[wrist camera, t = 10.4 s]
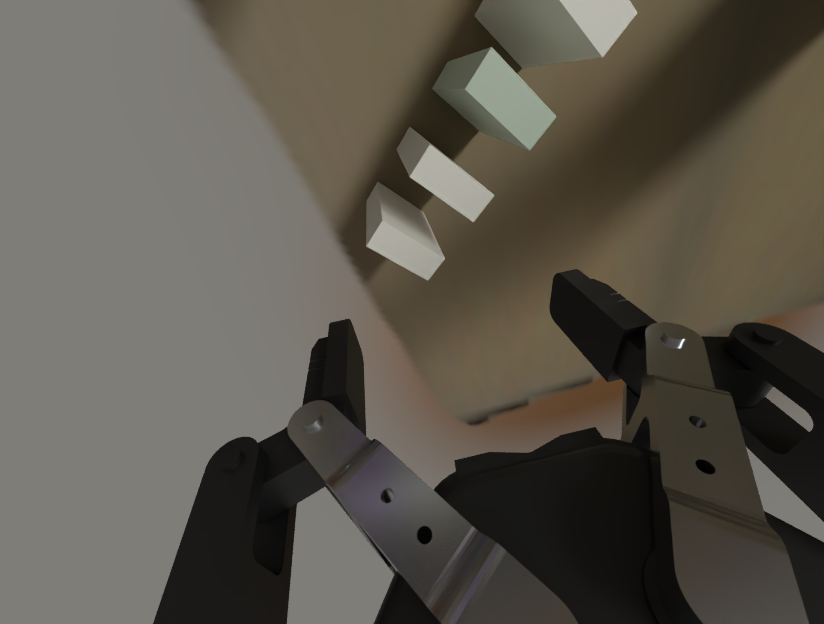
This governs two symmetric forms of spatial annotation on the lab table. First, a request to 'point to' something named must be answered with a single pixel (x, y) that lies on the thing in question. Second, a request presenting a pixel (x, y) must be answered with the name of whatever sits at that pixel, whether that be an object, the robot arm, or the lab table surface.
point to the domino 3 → (494, 98)
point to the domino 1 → (401, 232)
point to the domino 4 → (442, 176)
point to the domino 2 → (555, 28)
